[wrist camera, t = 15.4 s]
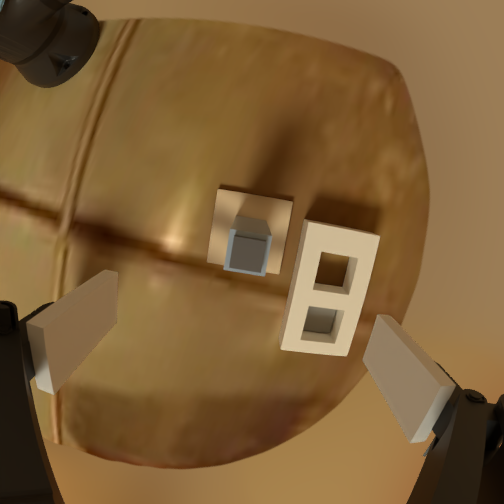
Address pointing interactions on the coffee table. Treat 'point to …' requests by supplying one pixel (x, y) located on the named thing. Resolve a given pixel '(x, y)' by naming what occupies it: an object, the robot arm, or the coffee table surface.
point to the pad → (250, 207)
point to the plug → (248, 246)
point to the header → (327, 290)
